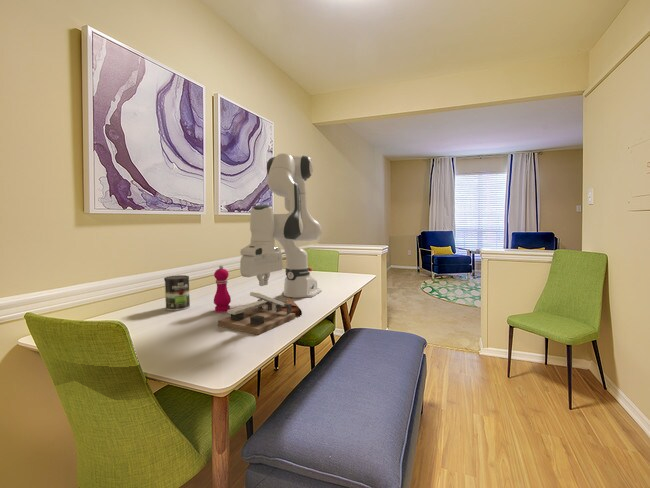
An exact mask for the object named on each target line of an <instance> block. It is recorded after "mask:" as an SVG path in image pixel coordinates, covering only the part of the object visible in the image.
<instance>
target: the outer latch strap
mask: <svg viewBox="0 0 650 488" xmlns="http://www.w3.org/2000/svg"><path fill="white" fill-rule="evenodd" d="M249 296H251V297H253V298H257V299H258V300H259V299H261V300H263V301H267V302H270V303H272V305H275V306H276V305H278V306H283V307H287V304H286V303H284V302H283V301H281V300H278V299H275V298H272V297H270V296H267V295H264V294H262V293H259V292H253V291H250V293H249Z"/></svg>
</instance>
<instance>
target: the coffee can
mask: <svg viewBox="0 0 650 488" xmlns="http://www.w3.org/2000/svg"><path fill="white" fill-rule="evenodd" d="M164 293H165V294H164V296H165V298H164V299H165V301H164V302H165V310H166V311H171V312H175V311H183V310H187V309H189V308H190V307H191V305H190V304H191V303H190V302H191V301H190V300H191V299H190V276H189V275H185V274H184V275H183V274H182V275H179V274H178V275H170V276H166V277H164Z"/></svg>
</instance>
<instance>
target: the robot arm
mask: <svg viewBox="0 0 650 488" xmlns="http://www.w3.org/2000/svg"><path fill="white" fill-rule="evenodd" d="M266 163H267V164H266V172H267V186H268V188H269V190H270V191H271V192H272V193H273V194H275V195H276V196H279V197H283V198H284V208H285V209H286V211H287V213H274V209H273V206H271V205H270V204H260V205H259V204H257V205H254V206H253V207H251V209H250V218H249V220H250V221H249V229H250V234H251V235H250V244H248V245H246V246H245V247H243V248H240V250H239V253H240V255H241V257H240V260H239V261H240V262H239V268H240V275H241V276H242V277H244V278H251V277H256V278H257V280H258V285H259V286H260V287H264V286H267V285H268V284H269V278H270V276H271V273H274V272H279V271H282V270H283V269H284V260H283V254H282V250H281V249H280V248H279V247H278V246H276V243H275V241H277V242H278V243H279V244H280V245H281V247H282V248H283V250H284V254H285V263H286V266H285V267H286V268H285V278H284V284H283V285H284V286H283V290H282V294H283V296H284V297H286V298H287V297H288V298H299V299H300V298H312V297H315V296H316V295H318V294H320V293H322V288H318V281H317V279H315V278H314V277H313V276H312V275H311V272H313V267H309V266H308V265H309V263H308V262H309V261H308V259H309V258H308V252H307V251H306V250H305V249H303V248H301V247H299V246H298V245H297V242H313V241H318V240H319V239H320V238H321V236H322V233H323V232H322V231H323V228H322V225H321V224H320V223H319V221H317V220H316V219H315V218H314V217H313V216H312V215H311V213H310V211H309V208H308V202H307V199H308V198H307V186H306V185H307V184H306V181H307V180H308V179H310V178H311V176H313V172H314V162H313V160H312V158H311V157H309V156H307V155H290V154H288V153H282V152H281V153H279V154H277V155H276V156H273V157H270V158H269V159H268V161H267V162H266ZM275 246H276V247H275Z"/></svg>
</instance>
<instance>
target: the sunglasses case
mask: <svg viewBox="0 0 650 488" xmlns="http://www.w3.org/2000/svg"><path fill="white" fill-rule="evenodd" d="M283 303H286V304H289V303H291V312H292V313H295V317H301V316H302V315H303V311H302V309H301V308H300V307H299V306H298V304H297V303H296V302H295V301H294V300H293V299H292V297H289V298H288V299H287V300H286V301H284V302H283ZM281 311H284V312H287V307H283V306H281ZM300 315H301V316H300Z"/></svg>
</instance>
